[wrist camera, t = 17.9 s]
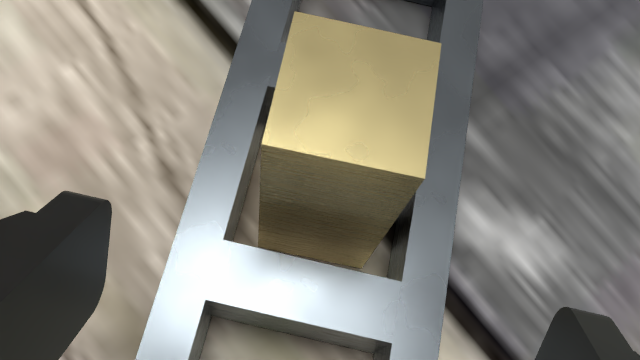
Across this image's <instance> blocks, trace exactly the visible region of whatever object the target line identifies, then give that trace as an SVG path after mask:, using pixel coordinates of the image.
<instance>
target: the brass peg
mask: <svg viewBox="0 0 640 360" xmlns="http://www.w3.org/2000/svg"><path fill="white" fill-rule="evenodd" d="M441 44H442V43H438V42H433V41H428V40H424V39H419V38H415V37H410V36H406V35H401V34H396V33H392V32H387V31H383V30H378V29H374V28H369V27H364V26H360V25H355V24H351V23H346V22H342V21H337V20H333V19H328V18H323V17H319V16H314V15H310V14H305V13H301V12H296V11H294V15H293V19H292V23H291V27H290V31H289V35H288V39H287V43H286V48H285V52H284V56H283V60H282V64H281V68H280V72H279V76H278V80H277V84H276V88H275V92H274V96H273V100H272V104H271V108H270V112H269V116H268V120H267V124H266V128H265V132H264V136H263V140H262V144H261V175H260V206H259V237H258V247H260V248H265V249H269V250H274V251H279V252H284V253H289V254H294V255H298V256H303V257H308V258H313V259H318V260H322V261H327V262H332V263H337V264H342V265H347V266H351V267H356V268H362V267H363V265H364V264H365V263H366V261H367V260H368V258H369V257H370V256H371V254H372V253H373V251H374V250H375V249H376V247H377V246H378V244H379V243H380V241H381V240H382V239H383V237H384V236H385V234H386V233H387V232H388V230H389V229H390V227H391V226H392V225H393V223H394V222H395V220H396V219H397V217H398V216H399V215H400V213H401V212H402V210H403V209H404V208H405V206H406V205H407V203H408V202H409V201H410V199H411V198H412V196H413V195H414V194H415V192H416V191H417V189H418V188H419V186H420V185H421V184H422V182H423V181H424V179H425V175H426V166H427V158H428V150H429V142H430V134H431V125H432V117H433V109H434V101H435V93H436V84H437V76H438V68H439V60H440V52H441Z"/></svg>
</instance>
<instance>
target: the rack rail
mask: <svg viewBox="0 0 640 360" xmlns="http://www.w3.org/2000/svg"><path fill="white" fill-rule="evenodd" d="M300 1H301V0H252V2H251V5H250V8H249V11H248V14H247V17H246V20H245V23H244V26H243V30H242V33H241V36H240V39H239V42H238V45H237V48H236V51H235V54H234V57H233V60H232V63H231V67H230V70H229V73H228V76H227V79H226V82H225V85H224V88H223V91H222V94H221V97H220V100H219V104H218V107H217V110H216V113H215V116H214V119H213V122H212V125H211V128H210V131H209V134H208V137H207V141H206V144H205V147H204V150H203V153H202V156H201V159H200V162H199V165H198V168H197V171H196V174H195V177H194V181H193V184H192V187H191V190H190V193H189V196H188V199H187V202H186V205H185V208H184V211H183V214H182V218H181V221H180V224H179V227H178V230H177V233H176V236H175V239H174V242H173V245H172V248H171V251H170V255H169V258H168V261H167V264H166V267H165V270H164V273H163V276H162V279H161V282H160V285H159V288H158V292H157V295H156V298H155V301H154V304H153V307H152V310H151V313H150V316H149V319H148V322H147V325H146V328H145V332H144V335H143V338H142V341H141V344H140V347H139V350H138V353H137V356H136V359H135V360H199V359H200V355H201V351H202V348H203V344H204V341H205V337H206V334H207V330H208V327H209V323H210V320H211V316H215V317H219V318H224V319H228V320H232V321H237V322H241V323H245V324H249V325H254V326H258V327H262V328H267V329H271V330H275V331H279V332H284V333H288V334H292V335H297V336H301V337H305V338H309V339H314V340H318V341H322V342H327V343H331V344H335V345H339V346H344V347H348V348H352V349H357V350H361V351H365V352H369V353H374V357H373V360H438V355H439V347H440V339H441V331H442V323H443V315H444V308H445V300H446V292H447V284H448V276H449V268H450V260H451V252H452V244H453V236H454V228H455V220H456V212H457V205H458V197H459V189H460V181H461V173H462V165H463V157H464V149H465V141H466V133H467V125H468V117H469V110H470V102H471V94H472V86H473V78H474V70H475V62H476V54H477V46H478V38H479V30H480V22H481V15H482V7H483V0H407V1H411V2H415V3H419V4H423V5H427V6H432V7H433V8H432V13H431V19H430V25H429V31H428V37H427V40H428V41H433V42H438V43H442V44H441V52H440V60H439V68H438V76H437V84H436V93H435V101H434V109H433V117H432V125H431V134H430V142H429V150H428V158H427V166H426V175H425V179H424V181H423V182H422V184H421V185H420V186H419V188H418V189H417V191H416V192H415V194H414V195H413V196H412V198H411V199H410V201H409V202H408V203H407V205H406V206H405V208H404V209H403V210H402V212H401V213H400V215H399V216H398V217H397V221H396V227H395V233H394V239H393V245H392V250H391V256H390V262H389V268H388V274H387V278H384V277H379V276H375V275H371V274H367V273H362V272H358V271H354V270H350V269H345V268H341V267H337V266H333V265H329V264H324V263H320V262H316V261H312V260H307V259H303V258H299V257H295V256H290V255H286V254H282V253H278V252H273V251H269V250H265V249H261V248H256V247H252V246H248V245H244V244H239V243H235V242H233V238H234V235H235V231H236V228H237V224H238V221H239V217H240V213H241V210H242V206H243V203H244V199H245V196H246V192H247V189H248V185H249V182H250V178H251V175H252V171H253V167H254V164H255V160H256V157H257V153H258V150H259V146H260V143H261V139H262V136H263V132H264V129H265V125H266V124H267V120H268V116H269V112H270V108H271V104H272V100H273V96H274V92H275V88H276V84H277V80H278V76H279V72H280V68H281V64H282V60H283V56H284V52H285V48H286V43H287V39H288V35H289V31H290V27H291V23H292V19H293V15H294V11H296V12H298V8H299V5H300Z"/></svg>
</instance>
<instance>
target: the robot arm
mask: <svg viewBox="0 0 640 360" xmlns="http://www.w3.org/2000/svg"><path fill="white" fill-rule="evenodd" d="M111 216H112V208H111V204H110V202H109V201H108V200H104V199H100V198H96V197H91V196H87V195H83V194H78V193H74V192H70V191H63V192H61V193H60V194H59V195H58V196H56V197H55V198H54V199H53V200H51V201H50V202H49V203H48V204H47V205H45V206H44V207H43V208H42V209H40V210H39V211H38V212H37V213H33V212H29V211H24V212H21V213H18V214H15V215H12V216H9V217H7V218H4V219H1V220H0V360H59V358H60V357H61V356H62V354H63V353H64V352H65V350H66V349H67V347H68V346H69V345H70V343H71V342H72V341H73V339H74V338H75V337H76V335H77V334H78V333H79V331H80V330H81V328H82V327H83V326H84V324H85V323H86V322H87V320H88V319H89V318H90V316H91V315H92V313H93V312H94V310H95V309H96V307H97V305H98V302H99V300H100V297H101V294H102V291H103V288H104V283H105V278H106V268H107V258H108V247H109V237H110V227H111ZM535 360H640V355H639V354H637V353H636V352H635V351H633V350H632V349H631V347H630V346H629V344H628V343H627V341H626V340H625V338H624V337H623V335H622V334H621V332H620V331H619V329H618V328H617V326H616V325H615V323H614V322H613V320H612V319H611V318H609V317H607V316H604V315H599V314H595V313H591V312H586V311H582V310H578V309H573V308H569V307H563V308H561V309H560V310H559V311H558V312H557V313H556V314H555V316H554V318H553V320H552V322H551V324H550V327H549V329H548V331H547V333H546V336H545V338H544V340H543V342H542V345H541V347H540V349H539V351H538V354H537V356H536V358H535Z"/></svg>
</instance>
